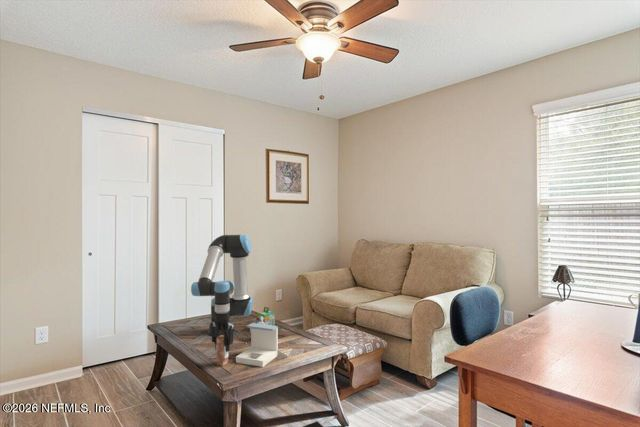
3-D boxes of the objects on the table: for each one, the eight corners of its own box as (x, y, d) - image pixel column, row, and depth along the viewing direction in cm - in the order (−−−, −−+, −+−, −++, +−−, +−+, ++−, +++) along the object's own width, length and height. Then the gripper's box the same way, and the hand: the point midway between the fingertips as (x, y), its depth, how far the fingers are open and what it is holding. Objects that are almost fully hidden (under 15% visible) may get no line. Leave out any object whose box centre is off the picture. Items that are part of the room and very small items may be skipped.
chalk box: (255, 329, 240) (255, 307, 240) (266, 326, 247) (266, 305, 247) (264, 332, 234) (264, 310, 234) (275, 329, 241) (275, 307, 241)
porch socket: (235, 362, 187) (235, 331, 187) (252, 351, 202) (252, 322, 202) (262, 367, 182) (262, 335, 182) (277, 355, 196) (277, 326, 196)
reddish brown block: (216, 364, 185) (216, 337, 185) (221, 361, 188) (221, 335, 188) (223, 366, 183) (223, 338, 183) (228, 362, 187) (227, 336, 187)
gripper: (203, 311, 185) (204, 357, 185) (231, 315, 179) (232, 362, 179) (213, 308, 192) (213, 352, 192) (240, 311, 186) (240, 356, 186)
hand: (222, 356), depth 186 cm, fingers closed on reddish brown block, 4 cm apart
